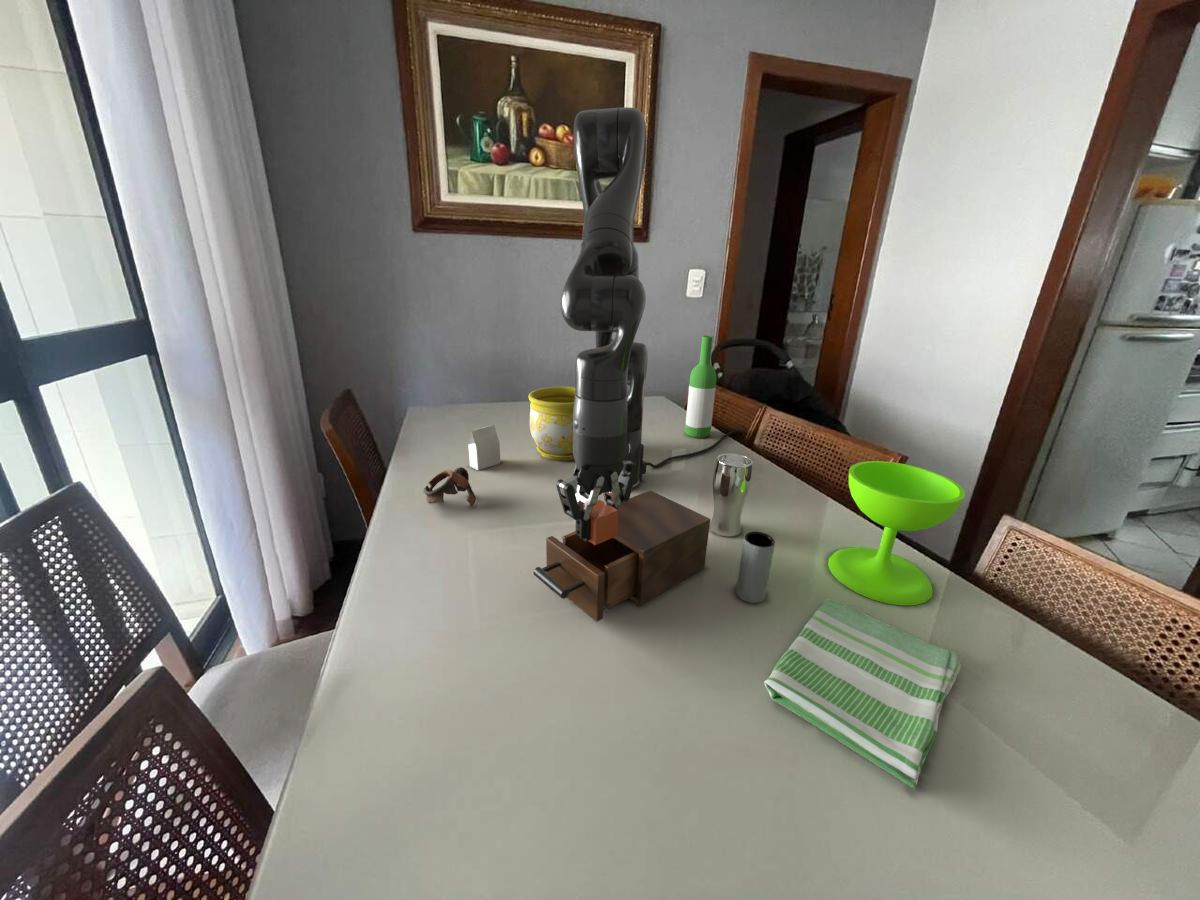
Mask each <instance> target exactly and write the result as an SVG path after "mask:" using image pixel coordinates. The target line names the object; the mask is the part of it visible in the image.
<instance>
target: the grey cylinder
mask: <svg viewBox="0 0 1200 900" xmlns="http://www.w3.org/2000/svg"><path fill="white" fill-rule="evenodd" d="M775 545H776V541H775V538H774V537H773V536H771V535H769V534H768V533H765V532H762V531H748V532H746V533H745V534H744V536H743V542H742V548H741V555H740V562H739V568H738V574H737V581H736V587H735V588H736V589H735V593H736V596H738V598H739V599H741V600H742V601H743V602H747V603H750V604H759V603H762V602H763V601H765V598H766V594H767V591H768V583H769V577H770V574H771V573H770V572H771V567H772V563H773V556H774V552H775V551H774V550H775Z"/></svg>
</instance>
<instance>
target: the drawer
mask: <svg viewBox="0 0 1200 900" xmlns="http://www.w3.org/2000/svg"><path fill="white" fill-rule="evenodd" d="M545 543H546V544H545V545H546V546H545V548H546V549H545V552H546V566H544V567H540V566H536V567H535V568H534V570H533V576H535V577H536V578H537V579H538V580H540V581H541V582H542V583H543V584H544V585H546V586H547V587H548V588H549V589H550V590H551V591H552V592H553V593H555V594H556V595H557V596H558V597H559V598H561V599H562V600H563V599H566V598H568V599H569V600H570V601H571V602H573V603H574V605H576V606H577V607H578V608H579V609H581V610H582V611H583V612H584V613H585V614H587V615H588V616H589V617H590V618H592V620H593V621H595V622H597V623H598V622H600V621H601V620H603V619H604V609H606V610H609V609H611V608H612V607H615V606H616V605H618V604H619V603H622V602H623V601H625V600H627V599H630V598H629V597H630V596H632V595H634V594H636V593H637V582H638V567H639V554H638V553H637V552H635V551H634V550H632V549H630V548H629V547H627V546H626V545H624V544H622V543H621V542H619V541H618V540H616V539H614V538H611V539H609V540H607V541H604V542H602V543H600V544H597V545H594V544H592V543H591V542H589V541H584V540H582V539H581V538H579V536H577V535H576V530H575V531H572V532H570V533H567V534H564V535H563V536H562V541H560V540H559V539H557V538H556V537H555V536H553V535H551V536H549V537H548V536H547V537H546V538H545Z"/></svg>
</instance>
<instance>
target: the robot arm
mask: <svg viewBox="0 0 1200 900" xmlns="http://www.w3.org/2000/svg"><path fill="white" fill-rule="evenodd" d="M572 133H573V136H572V137H573V139H572V140H573V149H574V156H575V164H576V165H575V166H576V172H577V177H578V184H579V189H580V198H581V203H582V210H583V215H584V216H583V217H584V220H583V225H582V234H581V242H580V243H581V244H580V252H579V254H578V257H577V259H576V262H575V264H574V266H573V267H572V269H571V271H570V273H569V275H568V277H567V279H566V282H565V284H564V286H563V289H562V293H561V298H560V311H561V316H562V318H563V319H564V322H565V323H566V324H567V326H569V327H570V328H572V329H573V330H575V331H580V332H595V347H594V348H589V349H585V350H582V351H580V352H579V353H578V354H577V355H576V358H575V363H574V365H575V366H574V367H575V368H574V369H575V370H574V372H575V373H574V376H575V377H574V378H575V379H574V380H575V381H574V382H575V383H574V384H575V385H574V387H575V402H574V409H573V457H574V460H573V461H574V464H575V466H574V469H573V471H572V476H570V477H568V478H567V479H565V480H563V479H562V478H560V479H558V480H557V481H556V482H555V487H556V490H557V493H558V497H559V500H560V503H561V506H562V511H563V513H564V514H565V515H567V516H568V517H570V518H571V519H573V520H575V531H576V535H577V536H579V538H581V539H582V540H584V541H588V540H590V539H591V519H590V516H591V512H592V509H593V506H594V505H596V503H597V500H599V496H600V495H603V499H604V502H605V503H606V504H608V505H610V506H612V507H613V508H615V509H617V510H618V508H619V507H620V506H621V503H622V502H623V501H628V500H629V498H631V494H632V490H633V489H635V488H637V487H639V485H640V483H642V482H643V475H646V474H647V466H649V467H650V468H653V469H656V468H657V469H658V468H660V467H662V466H663V465H665V464H667V463H669V462H670V461H674V460H678V459H684V458H689V457H693V456H697V455H700V454H703V453H706V452H709V451H711V450H712V449H714V448H716V447H717V446H718V445H720V444H721V443H722V442H723V440H724V439H725V438H726V437H729V436H730V435H733V434H735V433H739V434H740V435H743V434H744V432H743V431H742V430H741V429H733V430H731V431H728V432H727V433H724V434H723V435H722V436H720V438H719V440H717V441H716V442H715V443H713V444H712V445H710V446H708V447H706V448H704V449H701V450H697V451H694V452H690V453H686V454H679V455H675V456H670V457H668V458H665V459H663V460H662V461H661V462H659V463H657V464H654V463H652V462H650V461H645V460H644V453H645V451H644V450H645V446H644V444H643V443H642V435H643V434H642V433H643V418H644V401H645V386H646V378H647V371H648V370H647V369H648V360H649V359H648V357H649V356H648V355H649V354H648V349H647V346H646V344H645V343H642V342H635V338H636V335H637V332H638V329H639V326H640V324H641V321H642V318H643V315H644V313H645V312H644V311H645V308H646V300H647V299H646V296H647V295H646V291H645V287H644V285H643V283H642V281H641V280H640V278H639V276H640V275H639V254H638V251H637V248H636V246H635V244H634V228H635V219H636V211H637V206H638V203H639V199H640V194H641V190H642V189H641V188H642V184H643V179H644V173H645V167H646V160H647V147H648V146H647V145H648V141H647V139H648V138H647V125H646V119H645V116H644V115H643V113H642V111H641V110H640V109H638V108H636V107H629V106H628V107H627V106H626V107H625V106H624V107H610V108H598V109H586V110H581V111H579V112H578V113H577V114H576V115H575V118H574V122H573V131H572ZM600 180H611V181H610V183H608V185H607V186H606V187H605V188H604V189H602V185H601V182H600ZM613 333H615V337H614V338H613ZM628 386H629V389H628ZM584 505H585V507H584V509H583V506H584Z"/></svg>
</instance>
